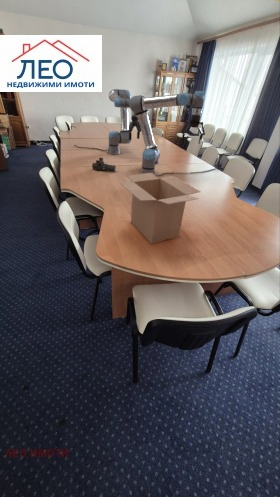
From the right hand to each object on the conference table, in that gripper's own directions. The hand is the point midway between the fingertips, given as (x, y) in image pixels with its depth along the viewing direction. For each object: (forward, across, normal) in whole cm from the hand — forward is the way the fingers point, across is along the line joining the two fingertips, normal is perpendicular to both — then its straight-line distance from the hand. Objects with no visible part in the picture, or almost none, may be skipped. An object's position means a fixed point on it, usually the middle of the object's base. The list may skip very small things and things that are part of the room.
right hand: (190, 142), depth 191 cm
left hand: (+8, +58, -35) cm, 68 cm away
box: (+31, +16, +100) cm, 106 cm away
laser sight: (+31, +78, +6) cm, 84 cm away
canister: (+31, +34, -40) cm, 61 cm away
